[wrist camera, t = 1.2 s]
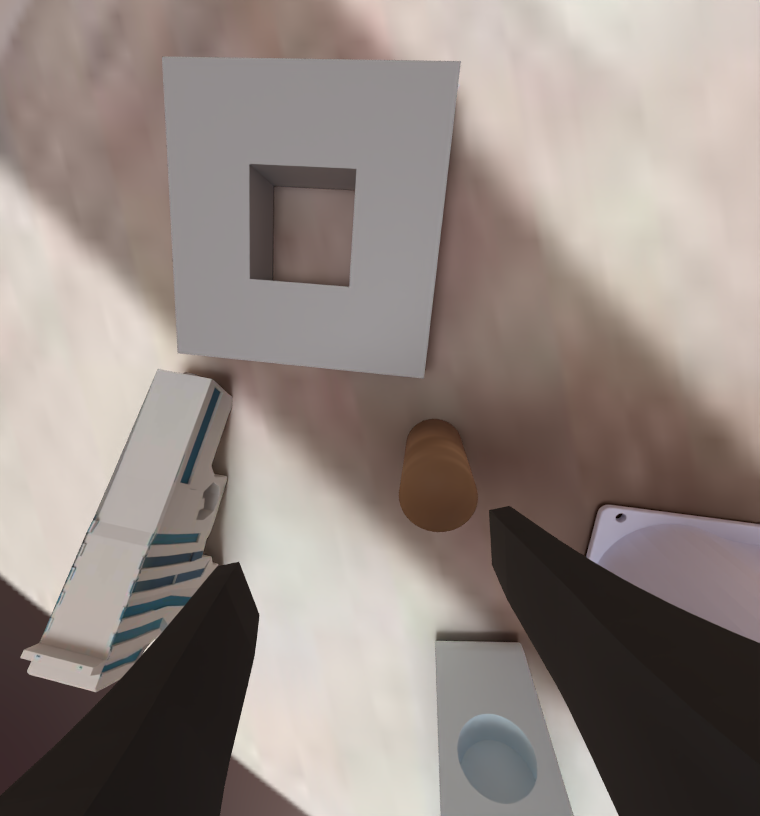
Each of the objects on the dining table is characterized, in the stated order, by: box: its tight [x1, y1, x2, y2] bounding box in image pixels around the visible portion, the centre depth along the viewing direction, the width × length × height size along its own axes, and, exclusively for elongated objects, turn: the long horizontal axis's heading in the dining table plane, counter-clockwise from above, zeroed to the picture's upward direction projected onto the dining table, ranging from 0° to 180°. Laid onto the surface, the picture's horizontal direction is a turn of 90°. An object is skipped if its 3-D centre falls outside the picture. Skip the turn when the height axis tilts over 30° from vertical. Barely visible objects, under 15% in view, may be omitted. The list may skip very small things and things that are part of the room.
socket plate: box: [162, 57, 461, 378], centre depth 17 cm, size 12×12×2 cm
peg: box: [399, 419, 478, 532], centre depth 17 cm, size 3×3×6 cm
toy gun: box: [21, 369, 233, 692], centre depth 20 cm, size 3×14×10 cm
